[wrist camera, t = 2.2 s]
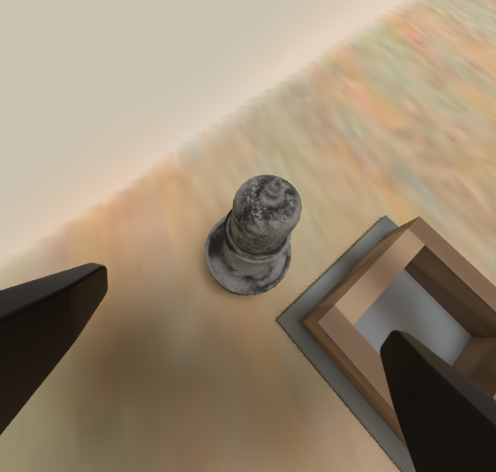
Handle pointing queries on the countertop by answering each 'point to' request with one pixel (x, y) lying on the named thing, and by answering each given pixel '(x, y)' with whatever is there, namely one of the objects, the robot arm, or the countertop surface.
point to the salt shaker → (254, 236)
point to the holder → (394, 320)
